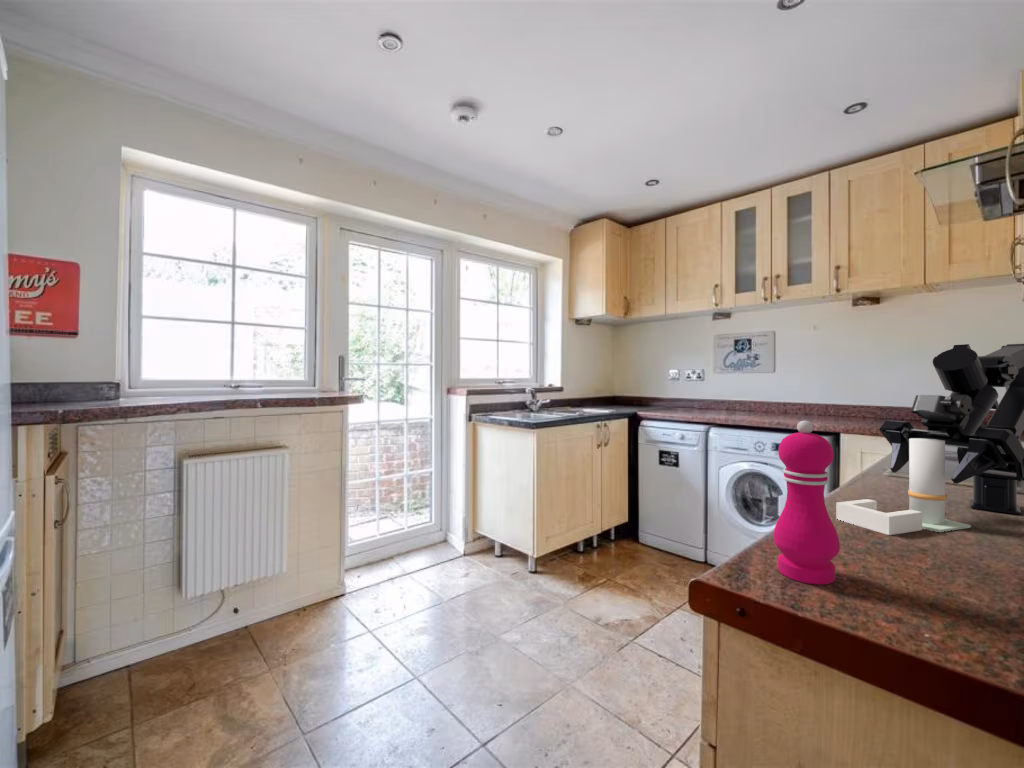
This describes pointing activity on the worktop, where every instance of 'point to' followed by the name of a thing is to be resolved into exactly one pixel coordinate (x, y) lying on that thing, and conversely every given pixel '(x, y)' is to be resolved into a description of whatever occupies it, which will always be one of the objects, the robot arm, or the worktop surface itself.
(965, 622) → the worktop surface
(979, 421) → the robot arm
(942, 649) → the worktop surface
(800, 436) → the pepper mill
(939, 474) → the white banded cylinder
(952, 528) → the sage mat
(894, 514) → the clip bracket
